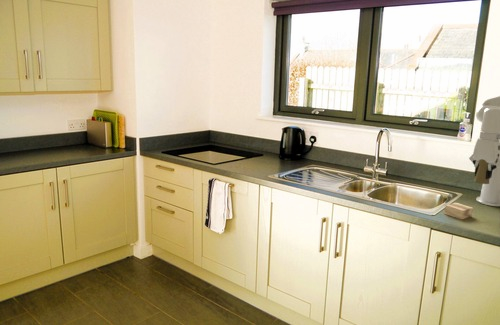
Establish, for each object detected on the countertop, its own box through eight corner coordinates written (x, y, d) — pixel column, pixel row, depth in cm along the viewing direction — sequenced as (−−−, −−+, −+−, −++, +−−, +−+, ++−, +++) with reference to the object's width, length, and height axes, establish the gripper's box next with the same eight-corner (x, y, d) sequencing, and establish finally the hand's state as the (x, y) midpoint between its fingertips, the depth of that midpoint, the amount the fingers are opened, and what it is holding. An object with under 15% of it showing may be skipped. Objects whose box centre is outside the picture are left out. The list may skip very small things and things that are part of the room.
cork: (484, 180, 191) (488, 156, 188) (492, 184, 185) (496, 159, 182) (471, 179, 191) (475, 156, 188) (478, 183, 185) (482, 159, 182)
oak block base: (454, 210, 192) (455, 202, 191) (471, 216, 185) (473, 207, 185) (444, 213, 188) (445, 205, 187) (461, 219, 181) (462, 210, 180)
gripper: (514, 139, 178) (506, 181, 183) (475, 133, 192) (468, 171, 196) (505, 140, 174) (497, 183, 179) (466, 134, 188) (459, 173, 192)
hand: (482, 176), depth 187 cm, fingers closed on cork, 4 cm apart
